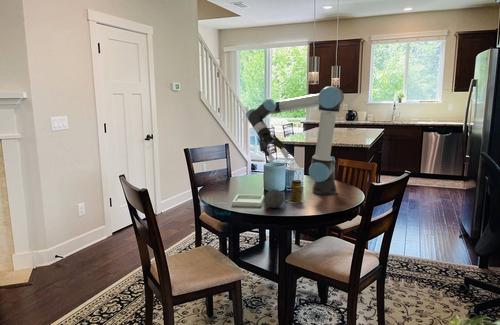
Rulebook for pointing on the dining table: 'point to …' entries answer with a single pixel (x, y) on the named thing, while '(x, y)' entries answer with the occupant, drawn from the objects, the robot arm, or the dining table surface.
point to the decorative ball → (274, 198)
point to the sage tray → (248, 200)
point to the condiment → (296, 192)
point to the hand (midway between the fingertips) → (280, 158)
